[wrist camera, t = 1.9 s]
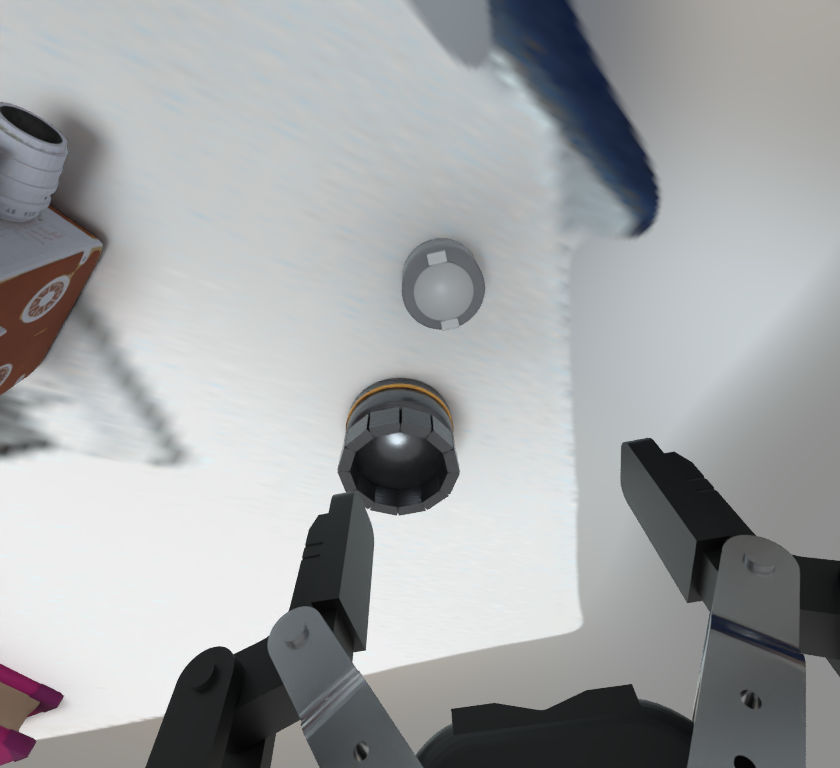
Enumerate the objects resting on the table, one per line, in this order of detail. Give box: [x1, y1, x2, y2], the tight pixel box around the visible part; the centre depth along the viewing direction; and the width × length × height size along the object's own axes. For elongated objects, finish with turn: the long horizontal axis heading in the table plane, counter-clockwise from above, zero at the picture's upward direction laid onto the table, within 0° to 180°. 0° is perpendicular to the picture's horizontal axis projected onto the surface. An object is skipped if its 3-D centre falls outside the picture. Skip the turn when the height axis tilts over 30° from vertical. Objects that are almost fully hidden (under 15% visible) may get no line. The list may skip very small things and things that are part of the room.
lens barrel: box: [338, 378, 460, 515], centre depth 36 cm, size 9×9×6 cm
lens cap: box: [402, 238, 485, 331], centre depth 31 cm, size 6×6×4 cm
